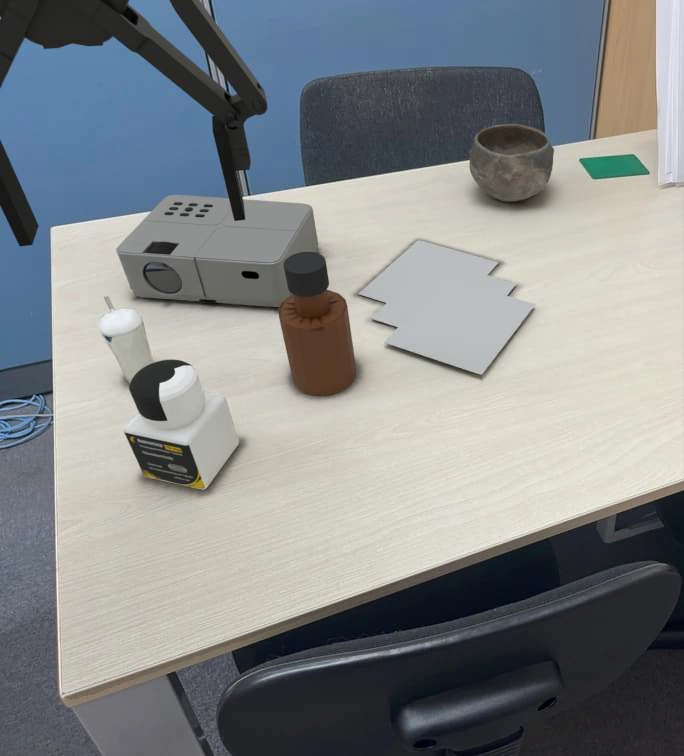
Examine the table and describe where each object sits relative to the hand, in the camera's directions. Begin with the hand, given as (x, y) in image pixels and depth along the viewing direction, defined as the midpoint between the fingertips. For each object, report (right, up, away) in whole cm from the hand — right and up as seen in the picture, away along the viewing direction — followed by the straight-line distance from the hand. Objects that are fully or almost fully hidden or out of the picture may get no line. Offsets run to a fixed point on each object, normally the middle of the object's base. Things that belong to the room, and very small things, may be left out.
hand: (138, 223), depth 50 cm
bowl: (+27, +21, +74) cm, 82 cm away
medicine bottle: (-7, -20, +26) cm, 33 cm away
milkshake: (-18, -11, +36) cm, 41 cm away
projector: (-14, +4, +52) cm, 54 cm away
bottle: (+4, -11, +36) cm, 38 cm away
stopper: (+4, -4, +30) cm, 31 cm away
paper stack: (+18, 0, +49) cm, 52 cm away
